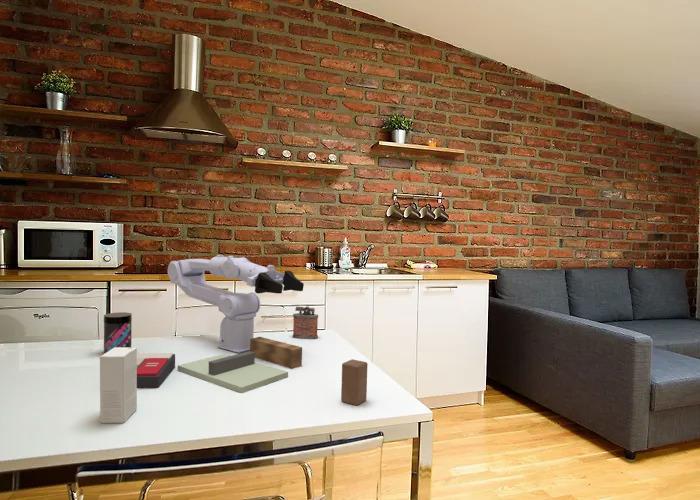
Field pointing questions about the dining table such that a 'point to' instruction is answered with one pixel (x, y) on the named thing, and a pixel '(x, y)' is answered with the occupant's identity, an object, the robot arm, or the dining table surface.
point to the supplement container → (117, 330)
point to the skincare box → (118, 384)
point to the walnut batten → (276, 352)
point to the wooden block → (354, 382)
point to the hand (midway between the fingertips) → (292, 288)
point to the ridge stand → (234, 371)
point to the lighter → (305, 323)
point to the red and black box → (153, 368)
